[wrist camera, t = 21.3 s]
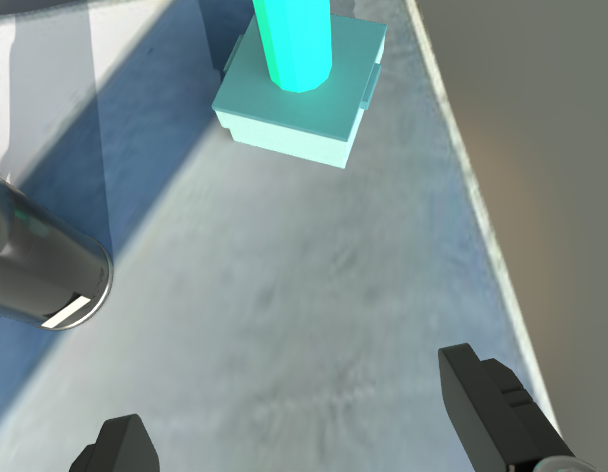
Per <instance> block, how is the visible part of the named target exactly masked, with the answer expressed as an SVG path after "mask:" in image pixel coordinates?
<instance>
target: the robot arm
mask: <svg viewBox="0 0 608 472" xmlns="http://www.w3.org/2000/svg"><path fill="white" fill-rule="evenodd" d="M112 282H113V265H112V261H111V258H110V256H109V254H108V252H107V251H106V249H105V248H104V247H103V246H102V245H101V244H100V243H98V242H97V241H95V240H94V239H92V238H91V237H89V236H86V235H85V234H83V233H82V232H80V231H79V230H77V229H76V228H75V227H73V226H72V225H70V224H69V223H67V222H66V221H64V220H63V219H61V218H60V217H58V216H57V215H55V214H54V213H52V212H51V211H49V210H48V209H46V208H45V207H43V206H42V205H40V204H39V203H37V202H36V201H34V200H33V199H31V198H30V197H28V196H27V195H25V194H24V193H22V192H21V191H19V190H18V189H16V188H15V187H13V186H12V185H10V184H9V183H7V182H6V181H4V180H3V179H1V178H0V316H2V317H6V318H9V319H13V320H16V321H20V322H23V323H27V324H31V325H33V326H35V327H38V328H41V329H45V330H50V331H61V330H67V329H71V328H74V327H76V326H78V325H80V324H82V323H84V322H85V321H87V320H88V319H90V318H91V317H92V316H93V315H94V314H95V313H96V312H97V311H98V310H99V309H100V308H101V306H102V305H103V304H104V302H105V300H106V299H107V297H108V295H109V292H110V289H111V286H112ZM438 358H439V368H440V378H441V387H442V395H443V400H444V404H445V407H446V410H447V413H448V416H449V418H450V420H451V422H452V424H453V426H454V428H455V430H456V432H457V435H458V437H459V439H460V441H461V443H462V445H463V447H464V449H465V451H466V453H467V455H468V457H469V459H470V462H471V464H472V466H473V468H474V470H475V472H601V471H600V470H598V469H597V468H596V467H594V466H593V465H591V464H590V463H588V462H585V461H584V460H581V459H578V458H576V457H575V455H574V454H573V453H572V452H571V451H570V449H569V448H568V446H567V445H566V444H565V442H564V441H563V440H562V438H561V437H560V436H559V434H558V433H557V431H556V430H555V429H554V427H553V426H552V425H551V423H550V422H549V420H548V419H547V418H546V416H545V415H544V414H543V412H542V411H541V410H540V408H539V407H538V405H537V404H536V403H535V402H533V399H532V397H531V396H530V395H529V393H528V392H527V390H526V389H524V388H523V385H522V384H521V382H520V381H519V379H518V378H517V377H516V375H515V374H514V373H513V371H512V370H511V369H509V368H508V367H506V366H505V365H503V364H502V363H500V362H499V361H497V360H496V359H494V358H493V359H488V360H483V361H480V360H479V358H478V357H477V355H476V354H475V352H474V351H473V349H472V348H471V346H470V345H469V344H468V343H463V344H459V345H454V346H449V347H445V348H440V349H439V350H438ZM69 472H160V466H159V459H158V455H157V453H156V450H155V448H154V446H153V444H152V442H151V440H150V438H149V435H148V433H147V431H146V429H145V427H144V425H143V423H142V420H141V418H140V417H139V416H138V415H137V414H132V415H127V416H122V417H118V418H113V419H109V420H106V421H105V422H104V424H103V426H102V428H101V430H100V433H99V435H98V438H97V440H96V443H95V444H91V445H87V446H86V448H85V449H84V450H83V451H82V452H81V454H80V455H79V456H78V457H77V459H76V460H75V461H74V462H73V463H72V465H71V467H70V470H69Z"/></svg>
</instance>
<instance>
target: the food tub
mask: <svg viewBox="0 0 608 472" xmlns="http://www.w3.org/2000/svg"><path fill="white" fill-rule="evenodd" d="M330 30H331V54H332V66H331V69H330V72H329V75H328V78H327V79H326V80H325V81H323V82H322V83H321V84H320V85H319V86H317V87H316V88H315V89H311V90H307V91H303V92H299V93H298V92H293V91H288V90H283V89H281V88H280V87H279V86H278V85H276V84H275V83H274V82H273V81H272V80H271V78H270V74H269V70H268V66H267V61H266V57H265V53H264V48H263V44H262V40H261V35H260V31H259V26H258V22H257V18H256V13H254V15H253V17H252V19H251V21H250V24H249V26H248V28H247V30H246V32H245V34H244V35H240V36H239V38H238V40H237V42H236V44H235V46H234V48H233V50H232V53H231V55H230V57H229V59H228V61H227V63H226V65H225V68H224V73H225V78H224V80H223V82H222V84H221V86H220V88H219V91H218V93H217V95H216V97H215V99H214V101H213V103H212V106H211V107H212V109H213V110H215V112H216V114H217V117H218V119H219V121H220V123H221V126H222V127H225V128H229V130H230V132H231V134H232V137H233V139H234V141H237V142H241V143H245V144H249V145H253V146H257V147H261V148H265V149H269V150H273V151H277V152H281V153H285V154H289V155H293V156H296V157H300V158H304V159H308V160H312V161H316V162H320V163H324V164H328V165H332V166H336V167H340V168H345V165H346V162H347V159H348V156H349V153H350V150H351V147H352V144H353V141H354V138H355V135H356V132H357V129H358V126H359V123H360V121H361V118H362V115H363V112H364V109H365V110H368V107H369V104H370V101H371V98H372V95H373V92H374V89H375V86H376V83H377V80H378V77H379V75H380V69H381V64H379V62H380V60H381V57H382V54H383V49H384V39H385V33H386V30H387V25H386V24H380V23H375V22H370V21H365V20H359V19H354V18H349V17H344V16H339V15H333V14H330Z"/></svg>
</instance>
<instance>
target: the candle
mask: <svg viewBox="0 0 608 472" xmlns="http://www.w3.org/2000/svg"><path fill="white" fill-rule="evenodd" d="M253 5H254V9H255V13H256V18H257V22H258V26H259V31H260V35H261V40H262V44H263V48H264V53H265V57H266V61H267V66H268V70H269V74H270V78H271V80H272V81H273V82H274V83H275V84H276V85H278V86H279V87H280V88H281V89H283V90H288V91H293V92H298V93H299V92H303V91H307V90H311V89H315V88H316V87H317V86H319V85H320V84H321V83H322V82H323V81H325V80H326V79H327V78H328V75H329V72H330V69H331V66H332V54H331V30H330V6H329V0H253Z"/></svg>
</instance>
